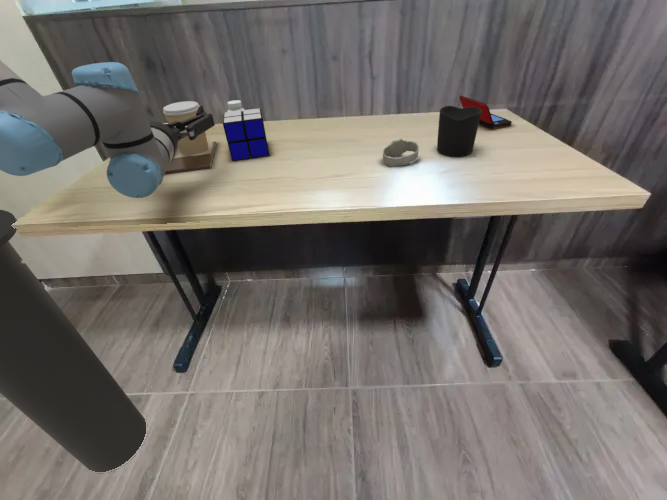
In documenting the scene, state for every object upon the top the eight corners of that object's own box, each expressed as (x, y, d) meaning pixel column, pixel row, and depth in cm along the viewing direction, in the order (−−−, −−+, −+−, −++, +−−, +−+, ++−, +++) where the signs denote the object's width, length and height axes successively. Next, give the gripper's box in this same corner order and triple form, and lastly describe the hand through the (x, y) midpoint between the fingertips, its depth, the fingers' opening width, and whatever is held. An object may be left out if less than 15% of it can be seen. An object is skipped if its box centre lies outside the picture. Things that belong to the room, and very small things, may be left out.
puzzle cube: (231, 161, 93) (222, 123, 87) (231, 148, 101) (223, 112, 95) (269, 155, 94) (262, 118, 88) (266, 143, 102) (260, 107, 96)
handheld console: (513, 125, 101) (519, 98, 97) (481, 132, 99) (486, 104, 94) (484, 114, 111) (488, 89, 106) (454, 120, 108) (458, 94, 104)
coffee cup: (190, 143, 104) (176, 100, 96) (217, 144, 101) (206, 101, 94) (170, 155, 97) (154, 110, 89) (199, 157, 94) (185, 111, 87)
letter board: (121, 179, 88) (116, 169, 86) (140, 153, 102) (136, 143, 101) (210, 168, 90) (207, 157, 89) (216, 143, 105) (214, 134, 103)
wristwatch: (411, 153, 90) (413, 134, 87) (423, 163, 85) (425, 142, 82) (378, 159, 88) (378, 140, 85) (388, 169, 83) (388, 149, 80)
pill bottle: (249, 136, 108) (242, 103, 102) (231, 138, 108) (223, 105, 102) (250, 130, 112) (243, 98, 106) (233, 132, 112) (225, 100, 106)
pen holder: (455, 141, 95) (461, 102, 89) (482, 152, 88) (490, 111, 82) (427, 149, 91) (431, 109, 85) (453, 161, 85) (459, 119, 79)
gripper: (94, 172, 69) (125, 136, 85) (223, 157, 71) (229, 124, 88) (75, 134, 64) (112, 103, 81) (214, 119, 67) (222, 93, 84)
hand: (173, 114), depth 84 cm, fingers open, 13 cm apart
